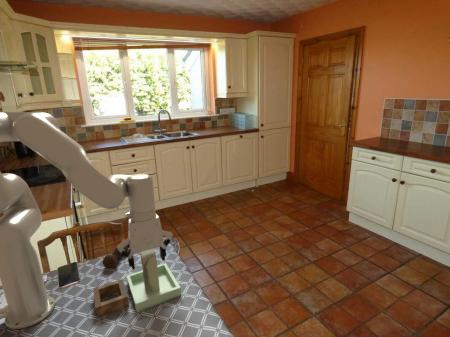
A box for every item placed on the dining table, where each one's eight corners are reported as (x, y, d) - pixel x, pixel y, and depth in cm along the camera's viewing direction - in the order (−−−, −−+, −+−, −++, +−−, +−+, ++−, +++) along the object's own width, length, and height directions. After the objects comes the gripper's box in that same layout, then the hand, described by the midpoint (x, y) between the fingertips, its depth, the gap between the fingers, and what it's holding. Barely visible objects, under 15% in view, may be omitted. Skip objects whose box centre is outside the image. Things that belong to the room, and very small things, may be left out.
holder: (97, 318, 81) (95, 307, 80) (94, 297, 90) (93, 288, 89) (129, 306, 85) (127, 296, 84) (123, 287, 94) (122, 278, 93)
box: (144, 285, 94) (139, 251, 91) (157, 281, 95) (153, 247, 92) (147, 294, 89) (142, 259, 86) (160, 290, 91) (156, 255, 88)
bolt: (129, 252, 120) (112, 272, 105) (119, 246, 120) (100, 266, 105) (134, 241, 119) (117, 260, 104) (124, 235, 119) (105, 254, 104)
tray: (136, 312, 83) (135, 304, 82) (127, 283, 96) (126, 275, 96) (181, 295, 89) (180, 287, 88) (166, 270, 103) (165, 262, 102)
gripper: (115, 224, 79) (122, 277, 83) (173, 212, 87) (177, 260, 91) (111, 215, 85) (118, 265, 89) (166, 204, 93) (170, 250, 97)
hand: (148, 262), depth 90 cm, fingers open, 9 cm apart
